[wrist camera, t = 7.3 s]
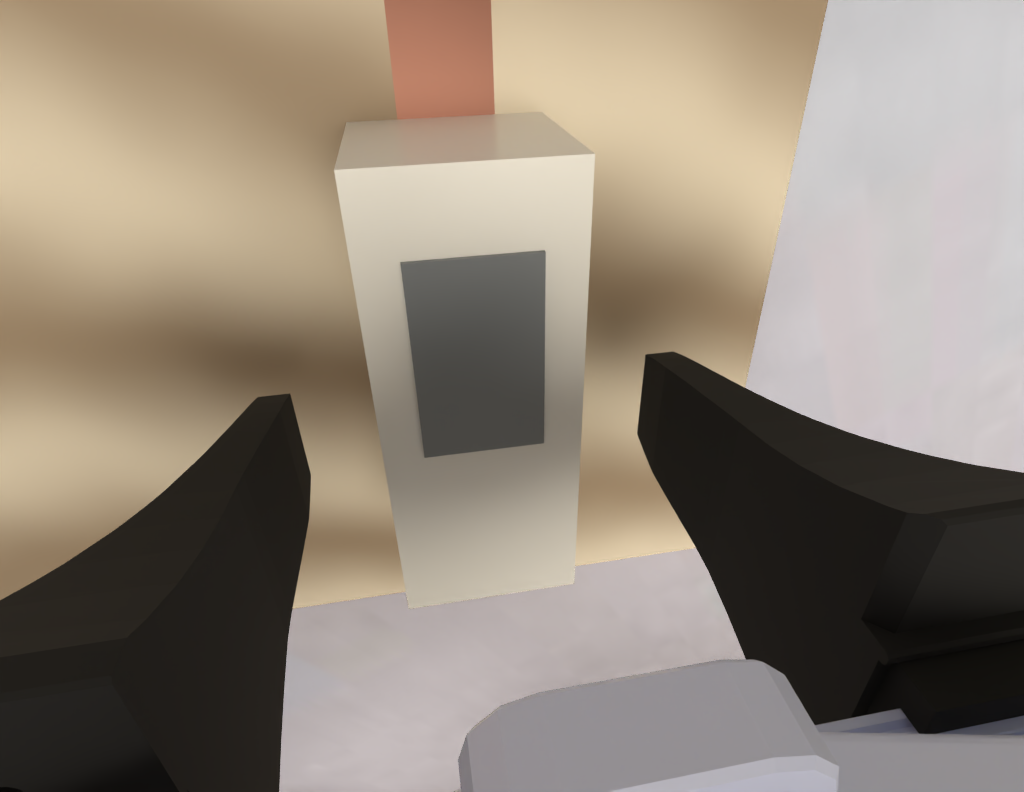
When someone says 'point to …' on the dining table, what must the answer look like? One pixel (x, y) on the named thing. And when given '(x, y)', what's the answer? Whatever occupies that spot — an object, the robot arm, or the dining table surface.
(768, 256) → the board
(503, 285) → the block
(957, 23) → the dining table surface
